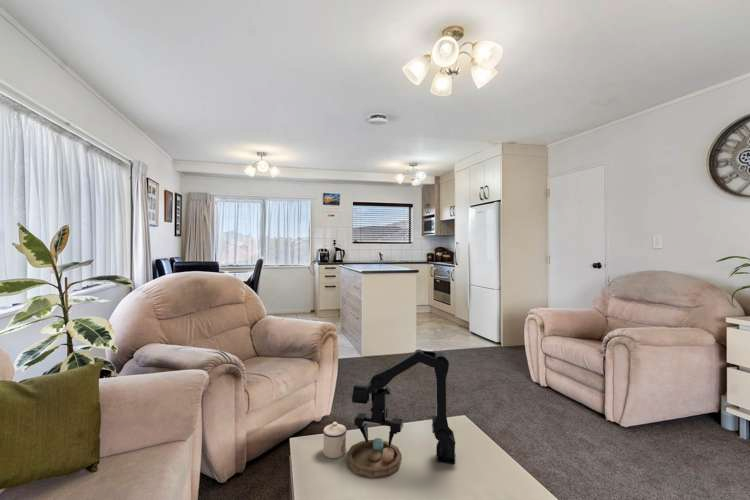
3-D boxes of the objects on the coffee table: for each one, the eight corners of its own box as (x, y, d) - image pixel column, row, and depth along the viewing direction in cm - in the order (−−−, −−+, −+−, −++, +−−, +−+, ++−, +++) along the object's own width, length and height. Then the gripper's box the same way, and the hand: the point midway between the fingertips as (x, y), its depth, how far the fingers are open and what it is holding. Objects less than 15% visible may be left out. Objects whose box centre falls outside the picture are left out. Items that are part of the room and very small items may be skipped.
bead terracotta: (394, 459, 133) (394, 448, 133) (392, 465, 129) (392, 454, 129) (384, 457, 134) (384, 446, 134) (381, 463, 130) (381, 452, 130)
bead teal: (383, 448, 140) (383, 438, 140) (382, 454, 136) (382, 443, 136) (373, 447, 140) (373, 437, 140) (372, 453, 136) (372, 443, 136)
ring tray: (405, 451, 140) (405, 444, 140) (393, 482, 120) (393, 474, 120) (357, 442, 145) (357, 436, 145) (339, 471, 126) (339, 464, 126)
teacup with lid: (346, 458, 134) (347, 427, 134) (322, 459, 133) (322, 429, 133) (345, 441, 146) (345, 413, 146) (323, 443, 145) (323, 414, 145)
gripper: (406, 399, 143) (405, 437, 143) (362, 393, 149) (362, 430, 149) (400, 410, 133) (399, 452, 133) (353, 404, 138) (353, 444, 138)
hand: (378, 444), depth 138 cm, fingers open, 9 cm apart
